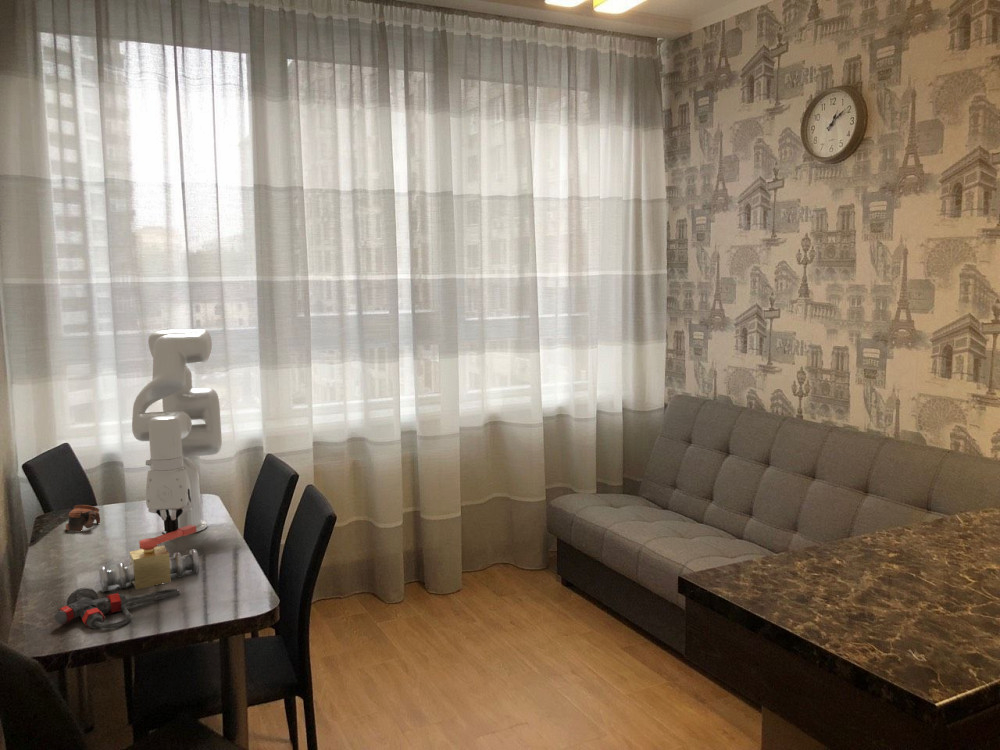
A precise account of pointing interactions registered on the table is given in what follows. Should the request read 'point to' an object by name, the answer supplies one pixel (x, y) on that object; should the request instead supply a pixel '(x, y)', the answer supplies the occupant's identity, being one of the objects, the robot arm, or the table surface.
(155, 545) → the lever
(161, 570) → the ball valve
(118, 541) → the table surface
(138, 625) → the table surface
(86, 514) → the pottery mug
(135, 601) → the valve
